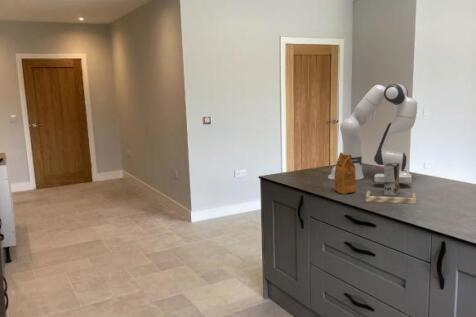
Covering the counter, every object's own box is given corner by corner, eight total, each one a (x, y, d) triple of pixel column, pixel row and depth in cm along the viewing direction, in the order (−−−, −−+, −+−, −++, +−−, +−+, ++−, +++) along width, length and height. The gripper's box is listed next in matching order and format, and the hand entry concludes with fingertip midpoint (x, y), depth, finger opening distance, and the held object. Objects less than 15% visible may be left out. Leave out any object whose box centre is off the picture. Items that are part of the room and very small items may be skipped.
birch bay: (365, 201, 217) (365, 196, 217) (367, 195, 229) (367, 190, 228) (416, 204, 208) (416, 199, 208) (415, 197, 220) (415, 192, 220)
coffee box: (396, 196, 224) (396, 166, 222) (383, 194, 228) (383, 165, 225) (399, 191, 232) (399, 163, 229) (387, 190, 235) (387, 162, 233)
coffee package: (348, 188, 246) (347, 151, 242) (358, 193, 234) (357, 154, 230) (332, 189, 244) (331, 152, 241) (341, 195, 232) (340, 155, 229)
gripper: (374, 170, 252) (372, 175, 239) (411, 171, 244) (411, 176, 232) (374, 180, 253) (372, 186, 240) (411, 181, 245) (411, 187, 233)
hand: (392, 181), depth 236 cm, fingers closed
